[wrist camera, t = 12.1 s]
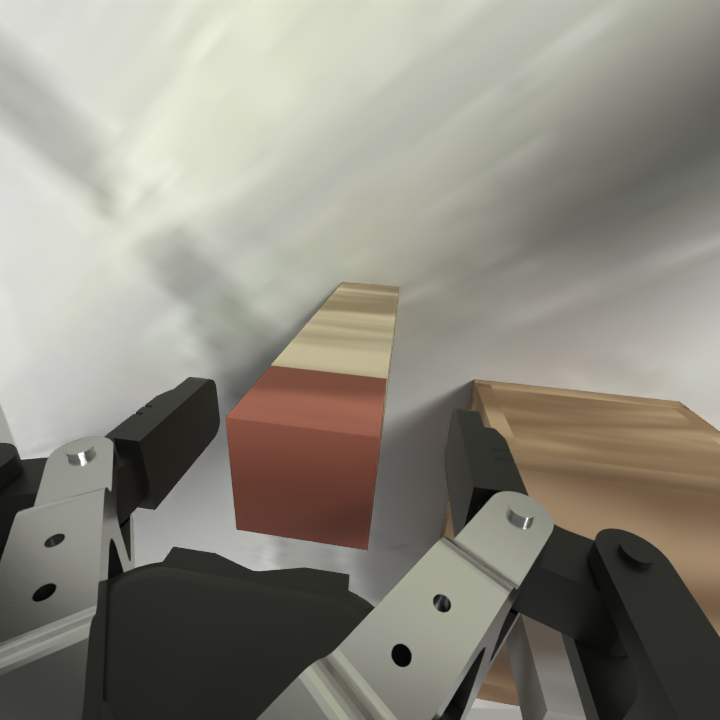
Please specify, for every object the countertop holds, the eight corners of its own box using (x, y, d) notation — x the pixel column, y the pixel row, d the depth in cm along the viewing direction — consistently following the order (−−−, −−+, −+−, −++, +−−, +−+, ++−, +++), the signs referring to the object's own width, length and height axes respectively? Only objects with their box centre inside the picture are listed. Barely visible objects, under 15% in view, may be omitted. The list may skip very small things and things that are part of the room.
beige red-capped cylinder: (342, 282, 23) (225, 417, 8) (399, 287, 23) (379, 437, 8) (340, 335, 25) (236, 529, 10) (393, 341, 24) (367, 550, 10)
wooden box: (474, 379, 25) (501, 454, 17) (679, 401, 23) (801, 492, 16) (435, 562, 32) (443, 669, 25) (590, 585, 31) (646, 705, 23)
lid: (497, 450, 17) (541, 571, 12) (808, 489, 16) (1024, 644, 10) (439, 670, 25) (448, 808, 19) (648, 707, 24) (724, 866, 18)
